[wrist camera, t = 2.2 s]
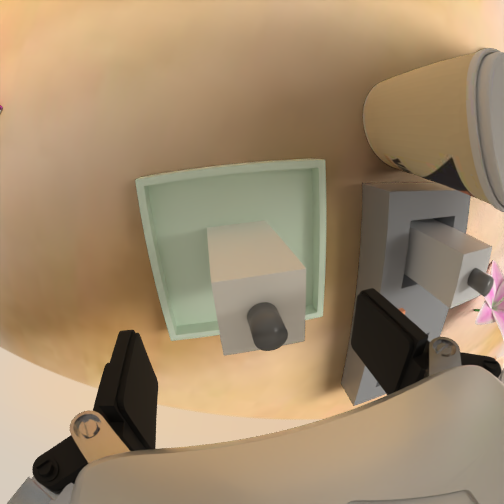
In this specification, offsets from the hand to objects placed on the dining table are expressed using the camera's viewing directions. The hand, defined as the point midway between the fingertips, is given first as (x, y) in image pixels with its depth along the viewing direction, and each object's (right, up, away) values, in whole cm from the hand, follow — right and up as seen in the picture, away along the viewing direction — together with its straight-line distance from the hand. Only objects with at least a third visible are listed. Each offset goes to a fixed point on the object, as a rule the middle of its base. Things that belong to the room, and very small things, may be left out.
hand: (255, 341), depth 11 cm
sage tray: (-1, +4, +9) cm, 10 cm away
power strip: (+14, -1, +14) cm, 20 cm away
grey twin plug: (+14, +5, +11) cm, 18 cm away
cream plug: (-1, +4, +9) cm, 9 cm away
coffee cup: (+12, +14, +8) cm, 20 cm away
